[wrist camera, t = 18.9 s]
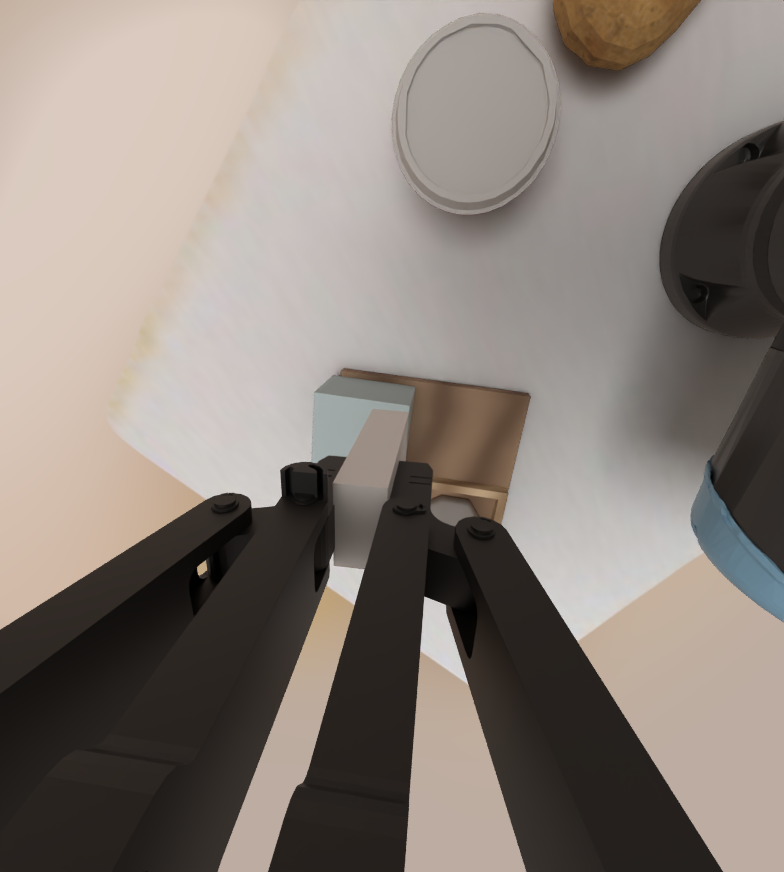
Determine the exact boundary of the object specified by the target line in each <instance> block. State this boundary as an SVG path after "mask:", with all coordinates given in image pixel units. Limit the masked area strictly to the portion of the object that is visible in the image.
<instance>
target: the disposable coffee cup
mask: <svg viewBox="0 0 784 872" xmlns="http://www.w3.org/2000/svg"><path fill="white" fill-rule="evenodd" d="M560 105H561V100H560V91H559V82H558V78H557V75H556V72H555V68H554V65H553V62H552V60H551V59H550V57H549V55H548V53H547V51H546V49H545V48H544V46H543V45H542V44H541V42H540V41H539V40H538V39H537V37H536V36H535V35H534V34H532V33H531V32H530V31H529V30H528V29H527V28H526V27H525V26H524V25H522V24H521V23H519V22H517V21H515V20H513V19H511V18H509V17H506V16H502V15H499V14H487V13H478V14H474V15H470V16H466V17H462V18H459V19H457V20H455V21H453V22H451V23H449V24H447V25H446V26H444V27H442V28H441V29H440V30H438V31H437V32H435V33H434V34H433V35H432V36H431V37H430V38H429V39H428V40H427V41H426V42H425V43H424V44H423V45H422V46H421V47H420V48H419V49H418V50H417V52H416V53H415V55H414V56H413V57H412V59H411V60H410V62H409V63H408V65H407V67H406V69H405V71H404V73H403V75H402V77H401V79H400V82H399V85H398V89H397V92H396V96H395V99H394V105H393V112H392V138H393V145H394V149H395V154H396V158H397V161H398V163H399V166H400V168H401V170H402V172H403V174H404V176H405V178H406V179H407V181H408V182H409V184H410V185H411V187H412V188H413V189H414V190H415V191H416V192H417V193H418V194H419V195H420V196H421V197H422V198H423V199H424V200H426V201H427V202H428V203H430V204H431V205H433V206H435V207H437V208H439V209H441V210H444V211H446V212H450V213H455V214H463V215H473V214H480V213H485V212H488V211H491V210H494V209H497V208H499V207H502V206H503V205H505V204H506V203H508V202H509V201H511V200H512V199H514V198H515V197H517V196H518V195H520V194H521V193H522V192H523V191H524V190H525V189H526V188H527V187H528V186H529V185H530V184H531V183H532V182H533V180H534V179H535V178H536V176H537V175H538V173H539V172H540V171H541V169H542V168H543V166H544V164H545V162H546V160H547V158H548V156H549V154H550V152H551V150H552V148H553V145H554V141H555V137H556V134H557V130H558V127H559V117H560Z"/></svg>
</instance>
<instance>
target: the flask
mask: <svg viewBox="0 0 784 872" xmlns="http://www.w3.org/2000/svg"><path fill="white" fill-rule="evenodd" d="M431 512H432V514H433V515H434V516H435V517H436V518H437V519H439V520H440V521H442V522H444V523H447V524H449V525H452V526H456V524H457V523H458V521H459V520H461V519H463V518H466V517H473V516H475V517H479V516H478V514H477V512H476V511H475V509H474V507H473V505H472V504H471V502H470V500H466V499H460V498H455V497H449V496H443V495H442V496H439V497H437V498H435V499H432V500H431Z"/></svg>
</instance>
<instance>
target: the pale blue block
mask: <svg viewBox="0 0 784 872" xmlns="http://www.w3.org/2000/svg"><path fill="white" fill-rule="evenodd" d="M414 394H415V386H408V385H400V384H393V383H386V382H378V381H371V380H364V379H357V378H349V377H342V376H335V375H333V376H332V377H331V378H330V379H329V380H327V381H326V382H325V383H324V384H323V385H322V386H321V387H320V388H318V389H317V390H316V391H315V392H314V410H313V435H312V461H311V462H313V463H318V461H319V460H321V459H323V458H325V457H327V456H328V455H330V456H341V457H347V456H348V454H349V452H350V450H351V448H352V447H353V445H354V443H355V441H356V439H357V437H358V435H359V434H360V432H361V430H362V428H363V426H364V424H365V422H366V421H367V419H368V417H369V415H370V413H371V411H372V409H378V410H390V411H403V412H409V416H408V433H407V447H408V439H409V432H410V424H411V417H412V409H413V401H414ZM406 455H407V449H406Z"/></svg>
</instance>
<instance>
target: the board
mask: <svg viewBox="0 0 784 872" xmlns="http://www.w3.org/2000/svg"><path fill="white" fill-rule="evenodd" d="M341 376H342V377H349V378H357V379H364V380H371V381H378V382H386V383H393V384H400V385H408V386H415V394H414V401H413V409H412V417H411V424H410V432H409V439H408V447H407V455H406V461H409V462H420V463H428V464H429V466H430V467H431V468H432V469H433V479H432V493H431V500H432V499H435V498H437V497H439V496H442V495H443V496H449V497H455V498H460V499H466V500H470V502H471V504H472V505H473V507H474V509H475V511H476V512H477V514H478V516H479V517H485V518H489V519H492V520H494V521H496V522H498V523H499V524H501V522H502V518H503V513H504V509H505V505H506V501H507V497H508V489H509V485H510V481H511V477H512V473H513V468H514V464H515V460H516V456H517V452H518V448H519V443H520V439H521V435H522V431H523V427H524V423H525V418H526V414H527V410H528V406H529V402H530V398H531V397H530V395H529V393H522V392H515V391H507V390H500V389H492V388H485V387H478V386H470V385H463V384H456V383H448V382H441V381H434V380H426V379H419V378H412V377H404V376H397V375H389V374H382V373H375V372H367V371H360V370H353V369H345V368H344V369H343V370H342V371H341Z"/></svg>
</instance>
